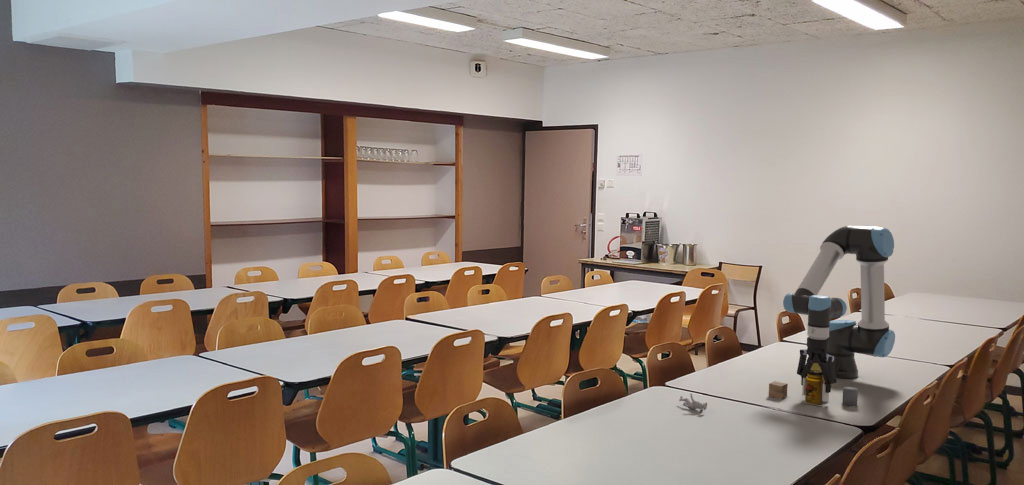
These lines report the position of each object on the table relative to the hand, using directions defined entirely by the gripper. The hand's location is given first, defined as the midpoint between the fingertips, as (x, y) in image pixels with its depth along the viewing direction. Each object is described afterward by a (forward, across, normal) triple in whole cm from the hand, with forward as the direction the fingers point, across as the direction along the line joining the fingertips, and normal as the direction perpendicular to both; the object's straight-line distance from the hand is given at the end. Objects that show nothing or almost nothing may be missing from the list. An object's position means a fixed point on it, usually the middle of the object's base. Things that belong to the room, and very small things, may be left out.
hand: (815, 397), depth 272 cm
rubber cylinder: (+2, +8, +9) cm, 12 cm away
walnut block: (+2, -12, -6) cm, 14 cm away
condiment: (+2, 0, 0) cm, 2 cm away
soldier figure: (+2, -16, -46) cm, 49 cm away
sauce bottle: (+2, -12, +17) cm, 21 cm away
